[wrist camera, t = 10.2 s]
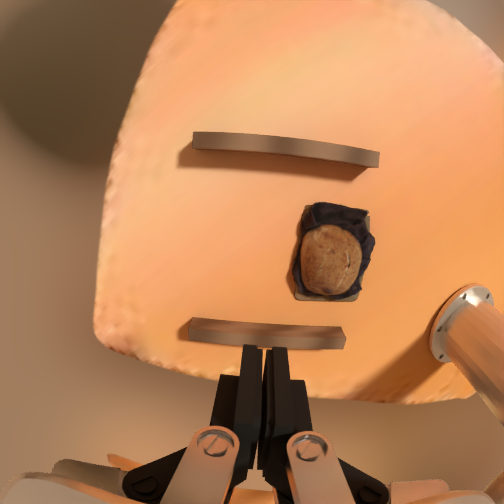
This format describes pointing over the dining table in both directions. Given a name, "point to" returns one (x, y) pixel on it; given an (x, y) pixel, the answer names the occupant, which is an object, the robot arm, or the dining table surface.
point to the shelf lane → (274, 332)
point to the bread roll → (332, 252)
